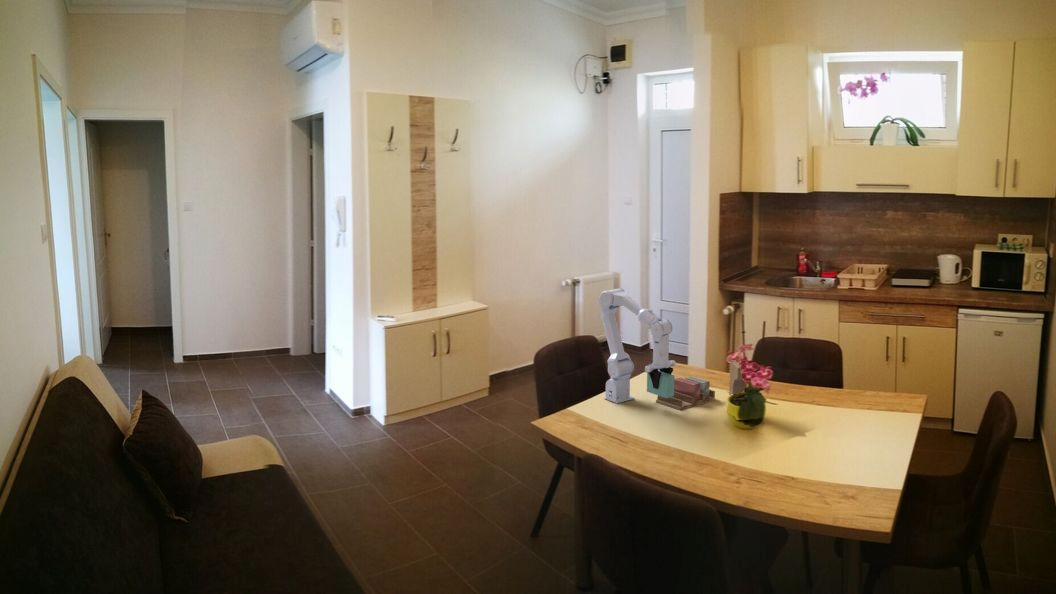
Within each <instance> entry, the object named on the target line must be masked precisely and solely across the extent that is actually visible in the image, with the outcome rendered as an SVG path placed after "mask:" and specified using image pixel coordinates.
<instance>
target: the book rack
mask: <svg viewBox="0 0 1056 594" xmlns="http://www.w3.org/2000/svg"><path fill="white" fill-rule="evenodd" d="M710 384H711V381H710V380H707V379H703V378H701V377H696V376H693V375H692V376H688V377H685V378H683V377H676V378H674V396H672V397H669V398H664V397H661V396H658V395H657V399H655V403H656V404H659V405H663V406H666V407H669V408H671V409H675V410H678V411H681V410H685V409H689V408H691V407H695V406H698V405H702V404H704V403H705V404H706V403H708V402H711V401H714V400H715V399H716V391H715V390H713V389H710Z"/></svg>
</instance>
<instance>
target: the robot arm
mask: <svg viewBox="0 0 1056 594" xmlns="http://www.w3.org/2000/svg"><path fill="white" fill-rule="evenodd" d="M598 302H599V305H600V308H599V312H600V313H599V314H600V316H601V320H602V324H603V329H604V333H605V337H606V341H607V345H608V348H609V353H610V356H609V357H608V359H607V361H606V362H607V372H608V375H609V376H610V379H608V380H607V381H606V382H605V396H604V397H603V398H604V399H605V400H607V401H609V402H610V401H611V402H612V403H615V404H621V403H623V402H627V401H631V400H635V396H631V395H630V394H631V391H630V390H631V389H630V388H631V377H632V373H634V370H635V365H634V362H633V361H632V359H631V357H630V355H629V354H628V353H627V352H626V351H625V350H624V345H623V342H622V337H621V333H620V329H619V326H618V321H617V318H616V312H617V311H618V309H619V308H620V307H621V306H622V307H624V308H626V309H627V310H629V311H630V312H631V313H633V314H634V315H635V316H638V317H637V318H638V321H639V322H640V323H642V325H644V326H646V327H647V329H649V330H650V331H649V332H650V333H651V335H652V341H653V344H652V345H653V346H652V347H653V349H652V350H653V351H652V363H650V364H647V365H645V366H644V372H646V373H647V372H648V373H649V375H650V378H651V380H652V384H653V388H655V389H658V388H659V380H660V376H661V374H662V372H664V373H668V374H671V375H672V373H673V372H674V368H673V367H676V360H672V359H670V360H669V354H670V353H669V351H670V348H669V346H670V334H671V333H672V331H673V325H672V322H671V321H670V320H668V319H663V318H662V317H661V316H659V315H657V314H656V313H655V312H653V309H651V308H643V307H642V306H641V305H640V304H639V303H637V301H636V300H634V299H633V298H632V297H631V296H630V294H629V292H628V291H626V290H625V289H624V288H621V287H618V288H615V289H608V290H607V289H606V290H603V291H602V292H601V293H600V295H599V297H598ZM658 369H660V371H661V372H659V371H658Z"/></svg>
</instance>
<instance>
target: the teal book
mask: <svg viewBox="0 0 1056 594" xmlns="http://www.w3.org/2000/svg"><path fill="white" fill-rule="evenodd" d="M659 372H661V371H659ZM646 375H647V376H646V392H647V393H650V394H652V395H657V397H658V396H661V397H664V398H669V397H672V396H674V379H675V375H674V374H672V373H671V374H668V373H664V372H662V374H661V376H660V380H659V388H658V389H655V388H653V384H652V380H651V378H650V375H649V373H648V372H646Z"/></svg>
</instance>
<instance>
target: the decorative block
mask: <svg viewBox="0 0 1056 594" xmlns="http://www.w3.org/2000/svg"><path fill="white" fill-rule="evenodd" d="M736 360H737V359H731V360H730V362H729V363H732V364H730V365H729V368H730V369H729V386H728V387H729V388H728V389H729V391H728V396H729V395H731V394H735V393H741V392H743V391H744V389H745V387H746V384H745V382H744V381H743V379H742V374H741V372H740V371H741V370H740V366H739V363H738V362H736ZM731 361H733V362H731Z"/></svg>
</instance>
